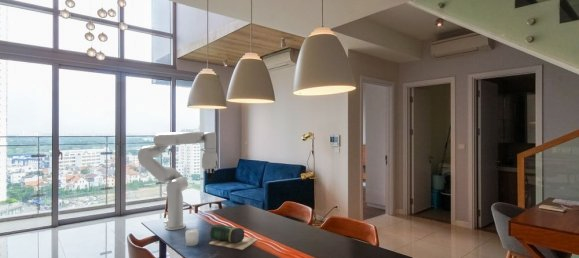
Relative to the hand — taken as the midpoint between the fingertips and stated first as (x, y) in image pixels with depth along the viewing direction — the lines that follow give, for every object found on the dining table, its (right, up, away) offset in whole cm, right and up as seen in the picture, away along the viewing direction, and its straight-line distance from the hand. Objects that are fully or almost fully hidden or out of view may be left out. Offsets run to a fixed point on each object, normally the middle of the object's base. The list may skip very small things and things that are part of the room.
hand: (210, 178), depth 201 cm
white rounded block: (-3, -32, -28) cm, 43 cm away
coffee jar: (+8, -28, -21) cm, 35 cm away
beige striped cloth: (+20, -32, -26) cm, 46 cm away
